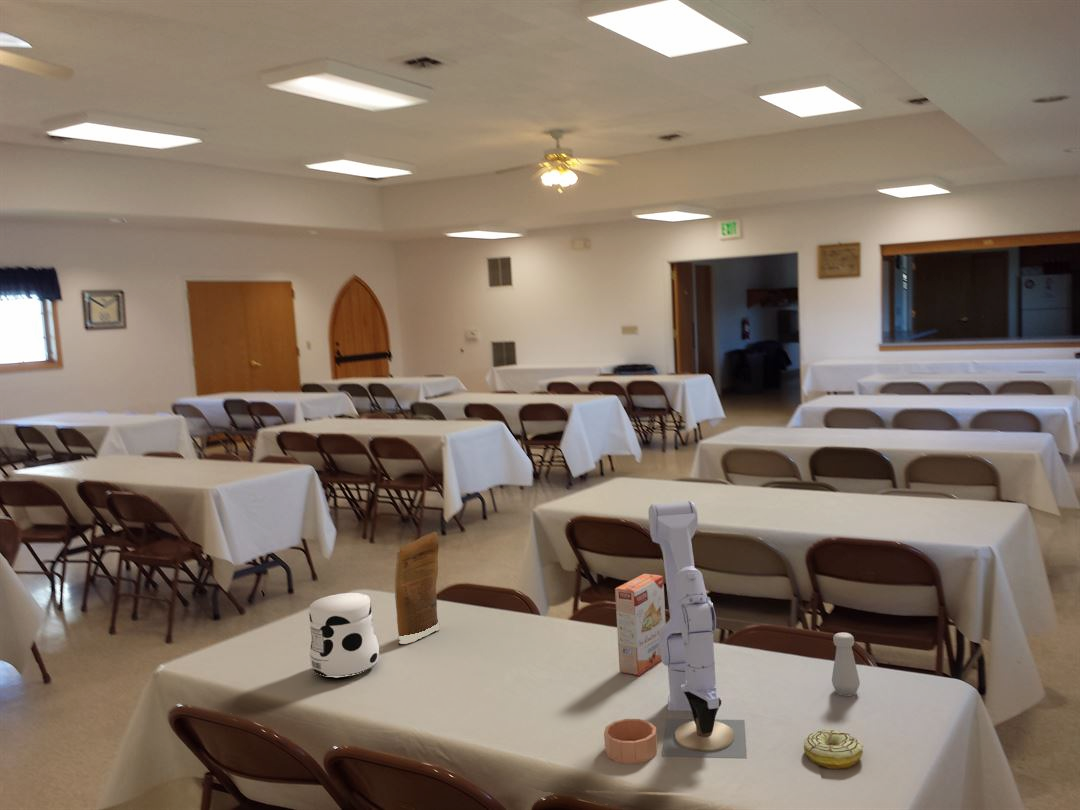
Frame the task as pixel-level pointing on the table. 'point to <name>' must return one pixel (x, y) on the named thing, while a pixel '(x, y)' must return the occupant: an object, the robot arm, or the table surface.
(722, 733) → the lid
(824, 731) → the decorated donut
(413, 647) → the table surface
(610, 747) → the bowl
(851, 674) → the salt shaker
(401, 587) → the pancake mix bag
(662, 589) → the cracker box
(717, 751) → the mat
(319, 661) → the milk container
